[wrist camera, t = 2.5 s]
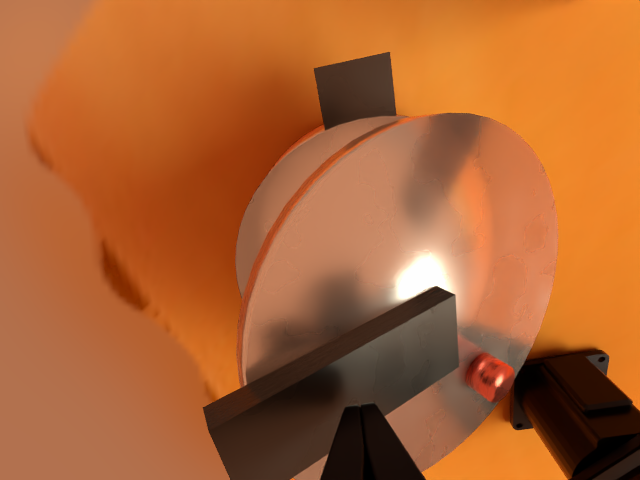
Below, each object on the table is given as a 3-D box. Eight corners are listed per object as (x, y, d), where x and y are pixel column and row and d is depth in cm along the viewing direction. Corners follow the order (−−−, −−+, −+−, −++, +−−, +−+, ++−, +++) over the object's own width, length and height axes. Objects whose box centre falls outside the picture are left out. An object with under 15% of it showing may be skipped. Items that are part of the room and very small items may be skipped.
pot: (485, 336, 24) (525, 393, 19) (290, 366, 25) (284, 427, 20) (482, 40, 17) (543, 16, 12) (213, 98, 18) (175, 97, 13)
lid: (528, 364, 18) (569, 387, 16) (271, 555, 12) (293, 620, 11) (542, 82, 13) (603, 73, 11) (113, 192, 7) (107, 208, 6)
